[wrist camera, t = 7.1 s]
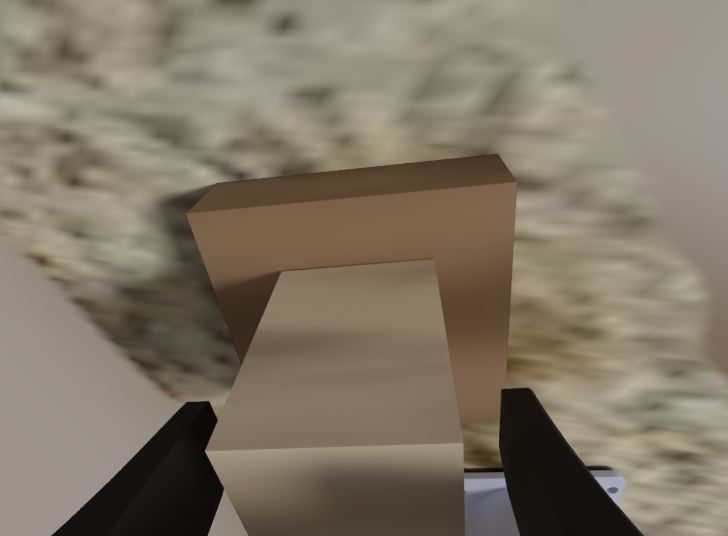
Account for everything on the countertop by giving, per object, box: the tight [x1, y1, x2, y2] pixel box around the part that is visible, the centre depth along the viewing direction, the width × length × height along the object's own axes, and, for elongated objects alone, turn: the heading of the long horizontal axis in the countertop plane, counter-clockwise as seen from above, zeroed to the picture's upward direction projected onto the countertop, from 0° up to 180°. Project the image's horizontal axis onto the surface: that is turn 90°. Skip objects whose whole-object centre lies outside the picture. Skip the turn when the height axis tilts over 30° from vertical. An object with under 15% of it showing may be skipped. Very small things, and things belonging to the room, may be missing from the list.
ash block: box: [205, 259, 465, 536], centre depth 11 cm, size 4×4×6 cm
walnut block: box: [186, 154, 517, 421], centre depth 15 cm, size 9×9×3 cm
